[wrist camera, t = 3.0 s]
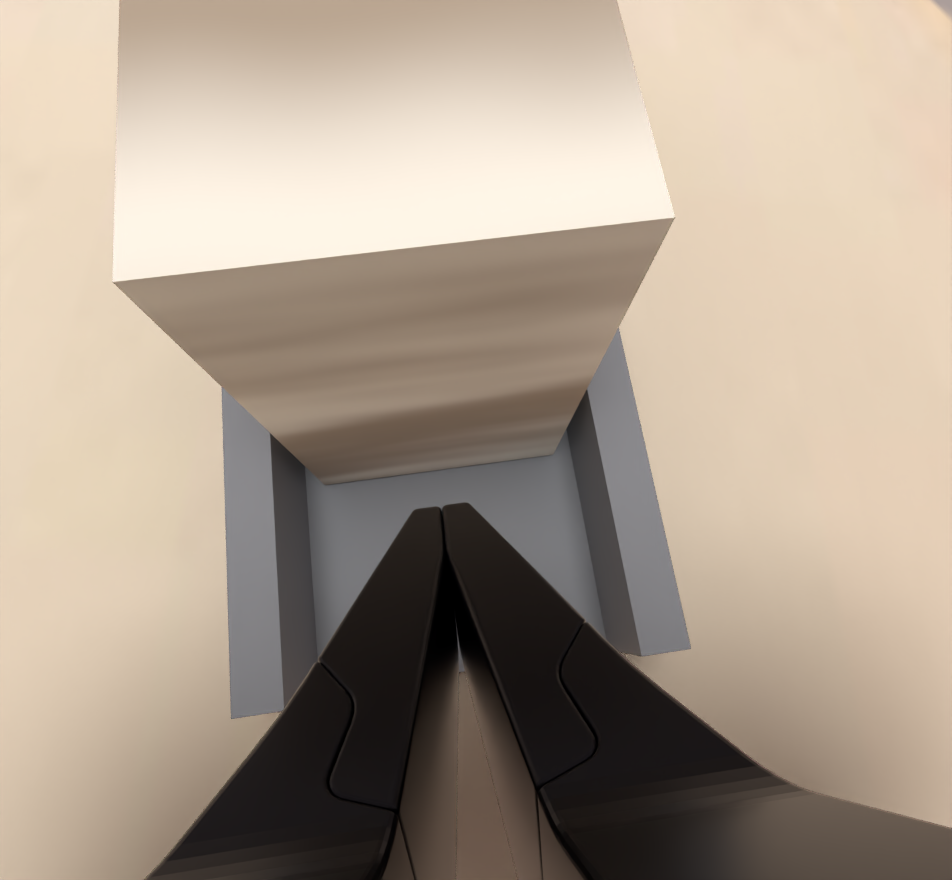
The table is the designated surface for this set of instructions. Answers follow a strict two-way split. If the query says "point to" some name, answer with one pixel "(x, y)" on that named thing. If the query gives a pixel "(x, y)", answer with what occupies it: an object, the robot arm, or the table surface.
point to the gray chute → (483, 486)
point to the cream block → (387, 215)
